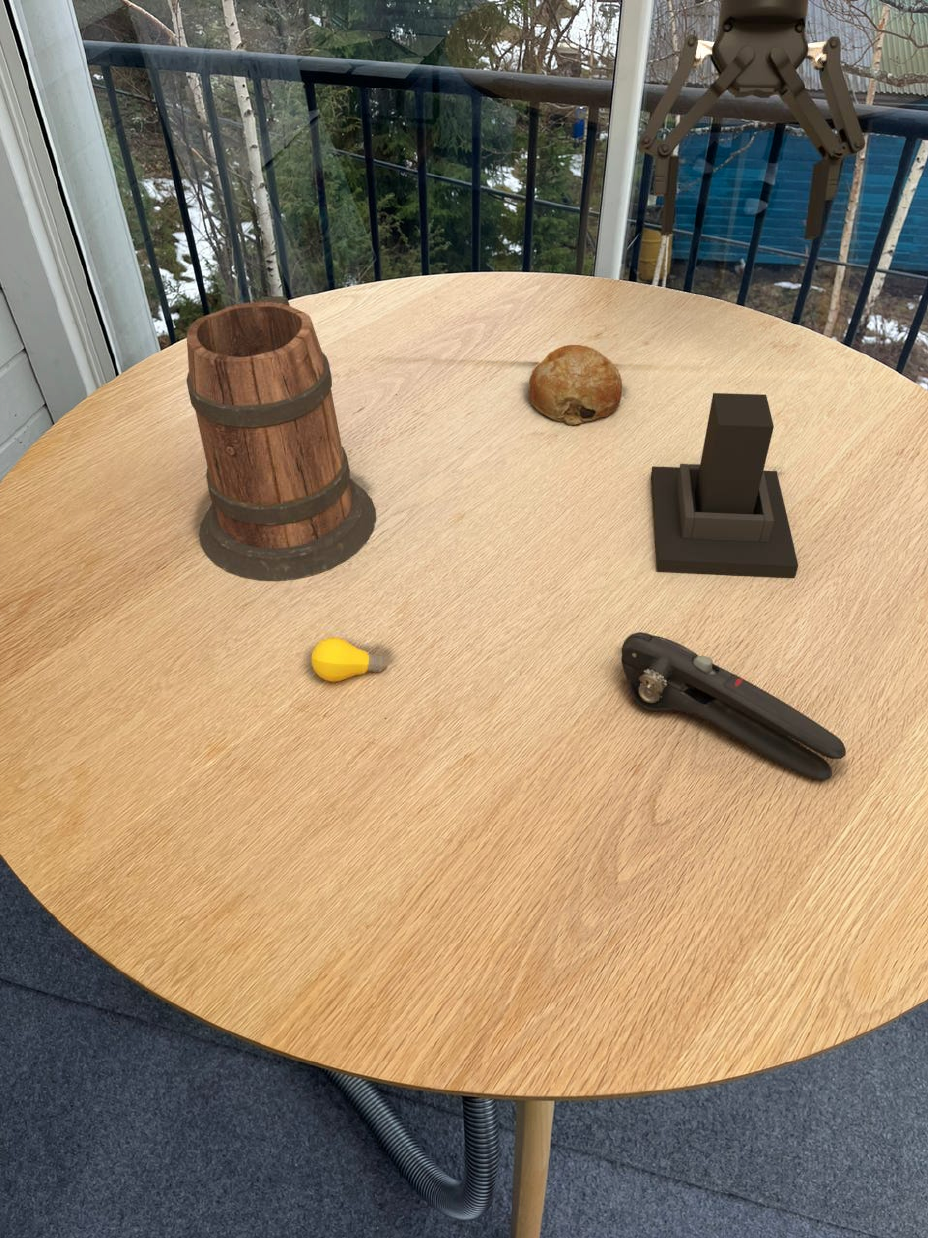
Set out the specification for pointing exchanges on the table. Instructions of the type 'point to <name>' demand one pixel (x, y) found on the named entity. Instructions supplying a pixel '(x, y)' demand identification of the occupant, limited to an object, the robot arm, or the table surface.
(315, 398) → the tankard
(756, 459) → the tall dark pillar
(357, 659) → the light bulb
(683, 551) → the base pad
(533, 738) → the table surface
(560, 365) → the bread roll
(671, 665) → the can opener
